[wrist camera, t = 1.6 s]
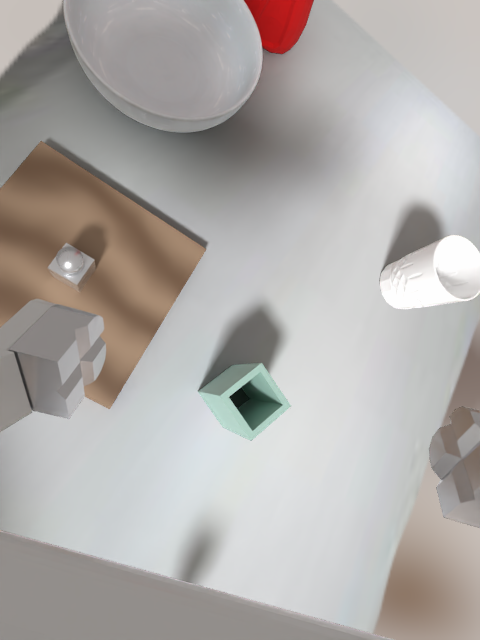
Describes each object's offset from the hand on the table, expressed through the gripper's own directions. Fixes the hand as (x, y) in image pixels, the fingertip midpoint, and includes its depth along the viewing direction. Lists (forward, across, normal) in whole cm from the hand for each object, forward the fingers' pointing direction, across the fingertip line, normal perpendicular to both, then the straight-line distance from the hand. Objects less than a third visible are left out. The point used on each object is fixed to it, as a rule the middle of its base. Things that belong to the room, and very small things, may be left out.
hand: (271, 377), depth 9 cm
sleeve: (+22, +2, +27) cm, 35 cm away
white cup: (+42, -18, +20) cm, 50 cm away
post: (+23, +20, +16) cm, 35 cm away
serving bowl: (+46, +19, +1) cm, 50 cm away
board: (+24, +20, +18) cm, 36 cm away
